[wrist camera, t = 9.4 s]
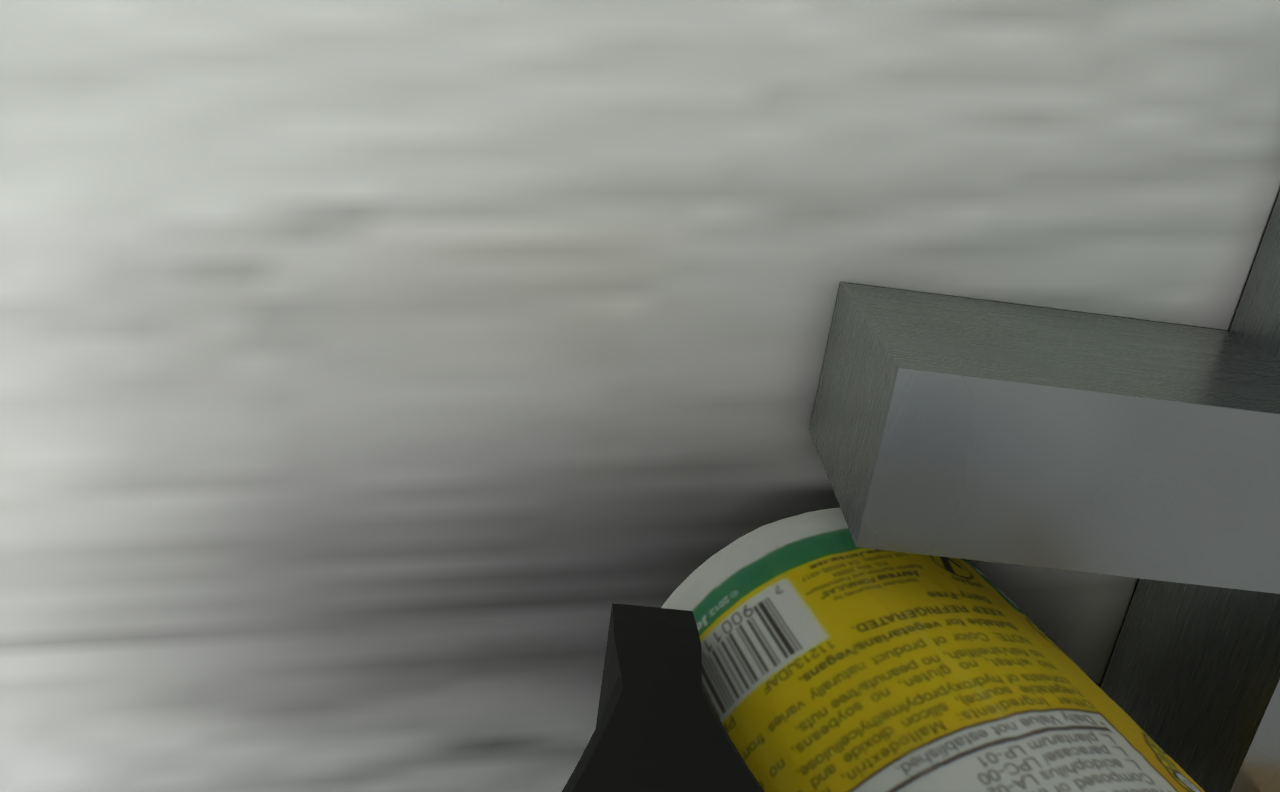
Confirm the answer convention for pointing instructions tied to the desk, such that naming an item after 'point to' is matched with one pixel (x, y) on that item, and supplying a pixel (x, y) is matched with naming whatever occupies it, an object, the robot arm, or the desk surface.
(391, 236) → the desk surface
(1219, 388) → the dock
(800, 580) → the supplement bottle
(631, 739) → the robot arm
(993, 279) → the desk surface
